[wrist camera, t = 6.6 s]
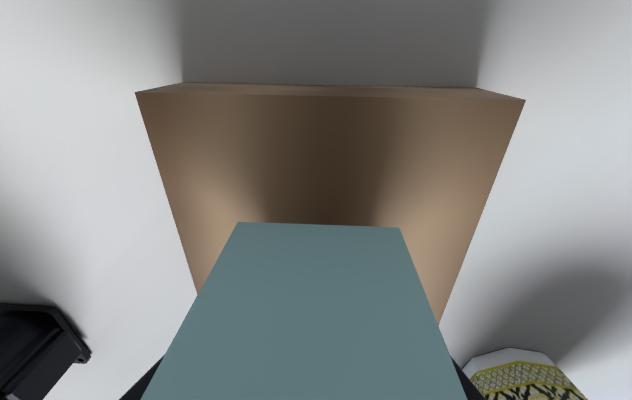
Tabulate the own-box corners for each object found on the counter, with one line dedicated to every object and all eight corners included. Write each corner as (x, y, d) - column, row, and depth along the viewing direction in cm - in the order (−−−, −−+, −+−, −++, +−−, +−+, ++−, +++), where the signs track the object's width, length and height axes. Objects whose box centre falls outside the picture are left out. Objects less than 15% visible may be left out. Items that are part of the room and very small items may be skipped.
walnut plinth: (227, 286, 17) (208, 329, 14) (181, 82, 11) (134, 92, 8) (415, 295, 16) (432, 341, 14) (476, 88, 10) (525, 100, 8)
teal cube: (254, 323, 11) (202, 511, 6) (237, 221, 8) (131, 415, 4) (378, 329, 10) (412, 527, 6) (399, 227, 8) (482, 438, 4)
